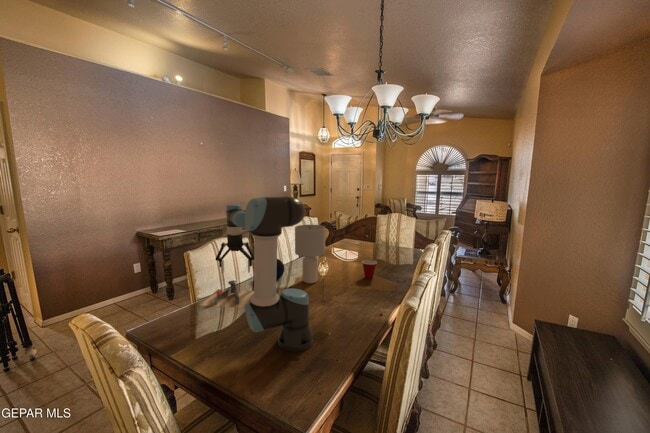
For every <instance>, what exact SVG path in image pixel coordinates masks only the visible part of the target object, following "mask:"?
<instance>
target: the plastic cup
mask: <svg viewBox="0 0 650 433" xmlns="http://www.w3.org/2000/svg"><path fill="white" fill-rule="evenodd" d="M361 263H362V268H363V274H364V278H365V279H366V280H372V279H373V278H374V275H375V271H376V266H377V264H378V262H377V261H376V260H375V261H374V260H362V261H361Z"/></svg>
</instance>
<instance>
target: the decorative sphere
mask: <svg viewBox="0 0 650 433" xmlns="http://www.w3.org/2000/svg"><path fill="white" fill-rule="evenodd" d="M284 273H285V265H284V263H283V261H282V260H281V259H279V258H277V272H276V280H278V279H281V277H282V276H283V275H284Z"/></svg>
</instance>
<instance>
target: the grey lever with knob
mask: <svg viewBox="0 0 650 433" xmlns="http://www.w3.org/2000/svg"><path fill="white" fill-rule="evenodd" d="M227 283H228V285H229V286H231V285H233V290H234V296H235V299H236V302H237V304H238V303H239V295H238V292H237V286H236V285H237V280H234V279H233V280H229V281H228V282H227Z"/></svg>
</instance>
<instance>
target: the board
mask: <svg viewBox="0 0 650 433" xmlns="http://www.w3.org/2000/svg"><path fill="white" fill-rule="evenodd" d="M218 290H219V289H216V290H215V291H214V292H213V293H212V294H211V295H209V297H207V298H206V299H205V300H203V302H201V303H200V304H199V306H201V307H202V306H205V307H206V306H207V307H219V308H220V307H223V308H239V309H240V308H241V309H245V305H246V304H247V303H250V297H251V296H252V295H253V294H254V290H239V289H238V290H237V289H236V290H237V292H238V295H239V303H238V304H237V302H236V299H235V296H234V293H231V294H230V295H228V296H227V297H226V298H225V299H223V300H222V301H221V302H220V303H218V304H217V305H215V297H216V296H217V291H218ZM224 290H225V289H222V292H223V291H224ZM230 291H231V289H230Z"/></svg>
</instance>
